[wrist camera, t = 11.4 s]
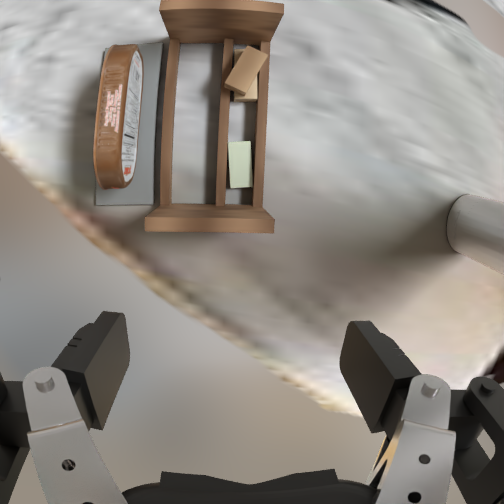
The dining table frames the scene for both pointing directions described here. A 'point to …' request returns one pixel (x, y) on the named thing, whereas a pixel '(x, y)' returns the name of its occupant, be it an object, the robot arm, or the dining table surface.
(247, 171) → the offcut sage
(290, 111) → the dining table surface
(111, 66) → the tin
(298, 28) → the dining table surface
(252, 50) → the offcut oak
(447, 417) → the robot arm
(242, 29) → the rack
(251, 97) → the offcut maple
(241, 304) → the dining table surface
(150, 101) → the felt mat
